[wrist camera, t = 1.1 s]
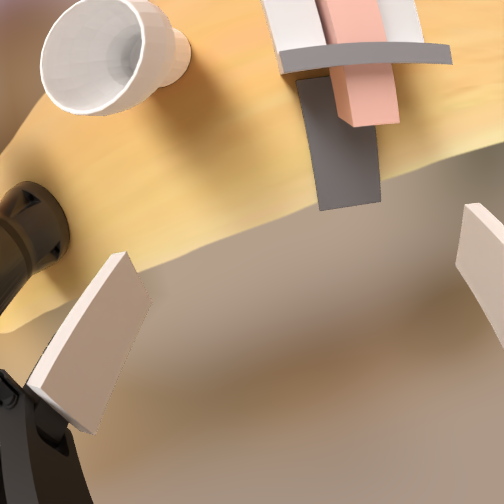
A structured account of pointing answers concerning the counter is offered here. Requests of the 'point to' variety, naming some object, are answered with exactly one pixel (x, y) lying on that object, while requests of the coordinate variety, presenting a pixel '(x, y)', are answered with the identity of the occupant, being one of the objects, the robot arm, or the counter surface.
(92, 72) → the cup
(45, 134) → the counter surface
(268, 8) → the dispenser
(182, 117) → the counter surface
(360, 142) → the pad
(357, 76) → the pink rectangular block
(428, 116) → the counter surface
